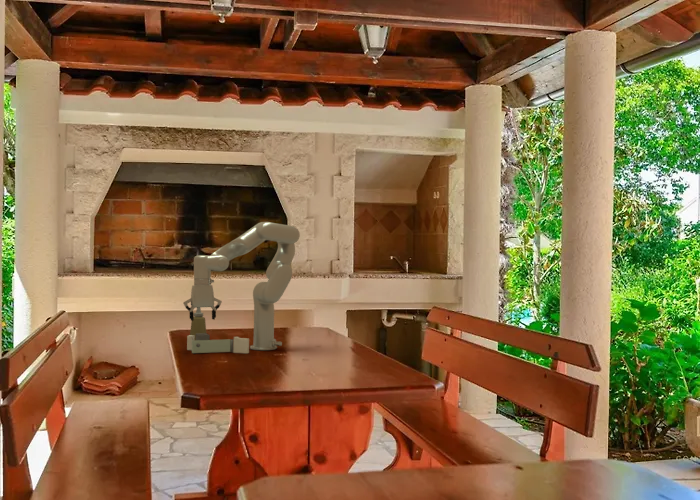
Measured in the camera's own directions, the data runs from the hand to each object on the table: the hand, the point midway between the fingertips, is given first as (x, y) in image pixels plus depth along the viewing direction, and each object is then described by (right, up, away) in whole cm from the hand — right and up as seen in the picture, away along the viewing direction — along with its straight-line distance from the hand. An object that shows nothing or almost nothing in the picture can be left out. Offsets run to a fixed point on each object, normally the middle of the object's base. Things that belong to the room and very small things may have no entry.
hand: (202, 319), depth 344 cm
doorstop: (0, -15, +1) cm, 15 cm away
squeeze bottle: (-9, -14, +32) cm, 36 cm away
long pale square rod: (+5, -15, -2) cm, 15 cm away
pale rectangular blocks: (+6, -15, +3) cm, 16 cm away
